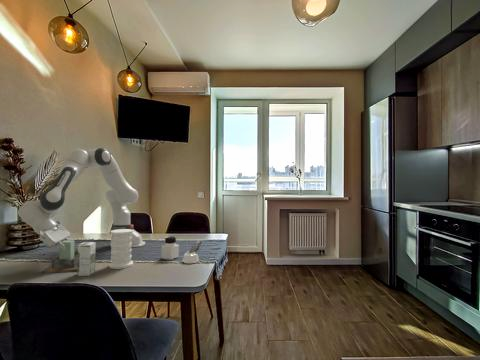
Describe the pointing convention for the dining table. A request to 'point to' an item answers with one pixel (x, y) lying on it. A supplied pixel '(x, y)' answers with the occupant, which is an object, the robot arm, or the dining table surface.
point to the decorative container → (121, 249)
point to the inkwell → (192, 253)
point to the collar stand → (62, 265)
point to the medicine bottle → (170, 248)
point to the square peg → (67, 250)
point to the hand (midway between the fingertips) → (68, 247)
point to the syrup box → (86, 259)
